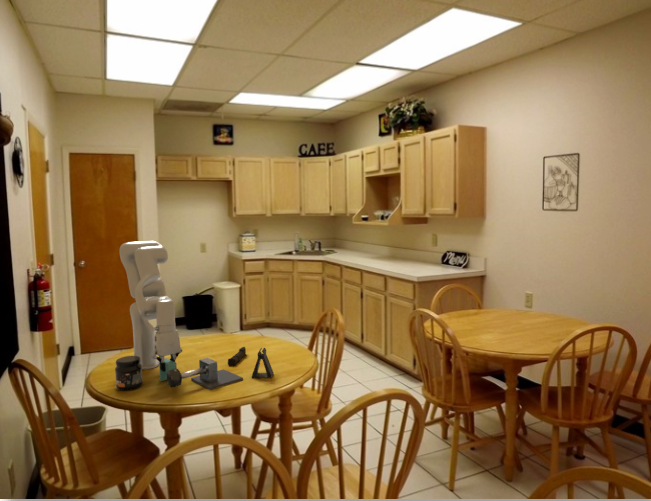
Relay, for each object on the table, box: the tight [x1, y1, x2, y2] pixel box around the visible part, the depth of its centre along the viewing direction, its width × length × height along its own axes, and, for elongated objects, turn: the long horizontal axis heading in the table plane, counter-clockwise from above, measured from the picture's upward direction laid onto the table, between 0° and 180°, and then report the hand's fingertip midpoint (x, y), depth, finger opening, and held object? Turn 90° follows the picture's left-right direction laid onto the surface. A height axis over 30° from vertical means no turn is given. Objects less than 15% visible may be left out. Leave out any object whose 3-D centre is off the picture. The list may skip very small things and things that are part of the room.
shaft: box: [166, 367, 206, 388], centre depth 195 cm, size 7×19×7 cm, turn 134°
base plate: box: [190, 368, 244, 391], centre depth 204 cm, size 16×16×1 cm
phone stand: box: [251, 347, 274, 379], centre depth 208 cm, size 9×6×12 cm, turn 88°
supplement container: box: [114, 355, 144, 392], centre depth 197 cm, size 10×10×12 cm
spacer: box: [158, 357, 178, 386], centre depth 202 cm, size 9×4×9 cm, turn 44°
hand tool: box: [227, 346, 247, 367], centre depth 232 cm, size 19×4×5 cm, turn 167°
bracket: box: [198, 357, 219, 384], centre depth 201 cm, size 8×4×8 cm, turn 44°
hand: (167, 369), depth 202 cm, fingers closed on spacer, 3 cm apart
